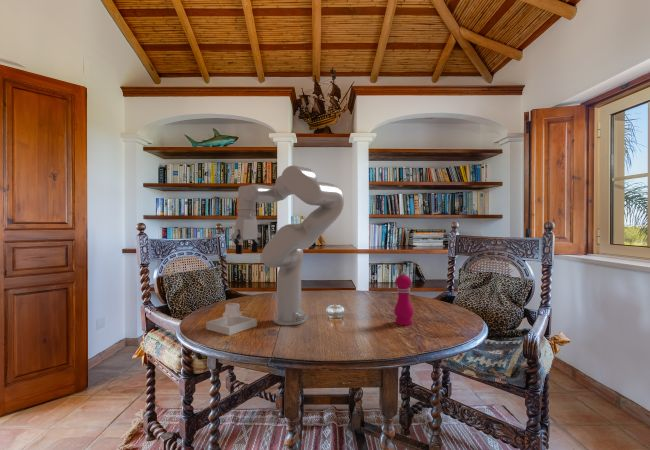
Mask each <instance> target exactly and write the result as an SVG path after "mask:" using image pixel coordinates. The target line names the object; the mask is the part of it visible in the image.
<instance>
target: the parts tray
mask: <svg viewBox="0 0 650 450" xmlns="http://www.w3.org/2000/svg"><path fill="white" fill-rule="evenodd" d="M257 320H258V318H257V319H256V318H254V317H253V318H252V317H248V316H243V315H241V316H240V317H237V321H236V322H237V324H236V325H233V326H230V327H229V326H228V323H227V322H228V317H223V316H222V317H219V318H215V319H212V320H208V321H206V322H205V330H207V331H208V330H209V331H211V332H216V333H220V334H222V335H227V336H232V335H234V334H237V333H240V332H243V331H246V330H248V329H253V328H255V327H257V326H258V321H257Z"/></svg>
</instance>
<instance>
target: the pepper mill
mask: <svg viewBox="0 0 650 450" xmlns="http://www.w3.org/2000/svg"><path fill="white" fill-rule="evenodd" d="M412 284H413V283H412V279H411V277H410V276H408V275H407V273H406V271H404V270H403V271H401V272H400V275H398V276H397V277H396V279H395V285H396V287H397V288H396V291H397V293H398V294H397V295H398V297H397V298H398V299H397V302H396V304H395V306H394V309H393V310H394V311H393V313H394V315H395V316H396V317H395V324H397V325H399V326H410V325H412V324H413V318H412V317H413V315H414V308H413V305H412V303H411V301H410V293H411V288H410V287H411V286H412Z"/></svg>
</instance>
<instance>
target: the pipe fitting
mask: <svg viewBox="0 0 650 450" xmlns="http://www.w3.org/2000/svg"><path fill="white" fill-rule="evenodd" d="M224 307H225V308H224V309H225V311H224V312H223V313H222V318H223V317H228V322H227V323H228V326H229V327H230V326H233V325H236V324H237V322H236V321H237V317H240V316H243V312H242V311H240V307H241V305H240V303H238V302H229V303H226V304H225V306H224Z"/></svg>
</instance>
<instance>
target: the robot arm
mask: <svg viewBox="0 0 650 450" xmlns="http://www.w3.org/2000/svg"><path fill="white" fill-rule="evenodd" d="M237 190H238V194H237V198H238V199H237V203H238V205H237V209H238V210H237V217H236V219H235V225H234V226H235V227H234V232H233V233H231V239H232V242H233V243H234V245H235V254H236V255H242V254H243V245H242V243H243V241H250V242H251V248H250V249H251V253H258V250H259V249H258V247H259V246H258V244H260V240H261V237H262V233H261V232H259V230H258V221H257V212H256V208H257V207H256V203H264V204H265V203H266V204H267V203H268V204H273V203H276V202H277V203H278V202H280V201H283V200H285V199H286V198H287V197H289V196H292V195H295V197H296V198H298V199H299V200H301V201H302V202H303V203H304V204H307V205H309V206H319V207H317V208H316V209H314V210H313V211H311V212H310V213H309V214H308V215H307V217H305V219H304V220H303V221H302V222H300V223H290V224H289V223H288V224H285V225H283V226H281V227H280V228H279V229H278V230H277V231H276V232H275V234H274V235H273V236H272V237H271V238H270V240H269V241H268V242H267V243H266V244H265V246H264V247H263V249H262V252H261V260H262V263H263V264H264V266H266V267H268V268H269V269H277V268H278V272H277V276H276V292H277V293H276V298H277V299H276V306H277V309H276V311H277V313H276V316H275V317H273V320H272V321H273V323H274V324H276V325H279V326H295V325H300V324H303V323H305V322H306V321H307V320H308V318H309V314H306V313H304V310H305V309H302V267H303V260H304V249H309V248H310V247H312V246H313V245H314V244H315V242H316V241H317V240H319V238H320V237H321V236H322V235H323V234H324V233H325V232H326V230H327V229H328V228H329V227H331V225H332V224H334V222H335V221H336V220H337V219H338V218H339V216H340V215H341V213H342V211H343V209H344V205H345V197H344V193H343V191H342V190H341V188H340V187H339V186H337V185H335V184H333V183H330V182H324V181H323V182H322V181H318V177H317V174H316V173H315V171H314V170H313V169H311V168H307V167H304V166H298V165H289V166H287V167H285V168H284V169H283V171H282V173H281V175H279V176H277V178H276V179H275V184H273V185H265V184H256V183H252V184H249V185H240V186H239V187H238V189H237Z"/></svg>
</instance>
